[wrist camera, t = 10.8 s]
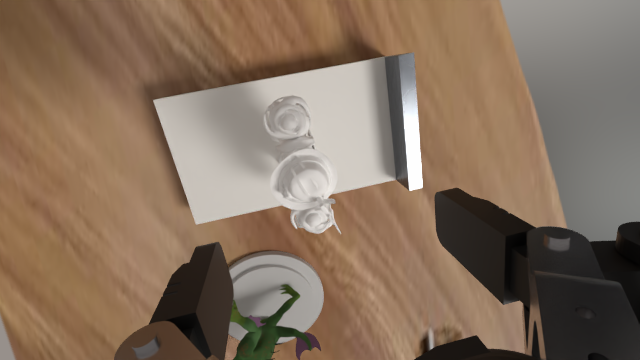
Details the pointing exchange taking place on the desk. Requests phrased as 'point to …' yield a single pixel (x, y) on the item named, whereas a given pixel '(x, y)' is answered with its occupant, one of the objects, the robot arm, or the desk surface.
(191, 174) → the shelf board
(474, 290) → the desk surface
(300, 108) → the white toy figure
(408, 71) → the rail
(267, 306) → the monster figurine
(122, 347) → the robot arm
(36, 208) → the desk surface
